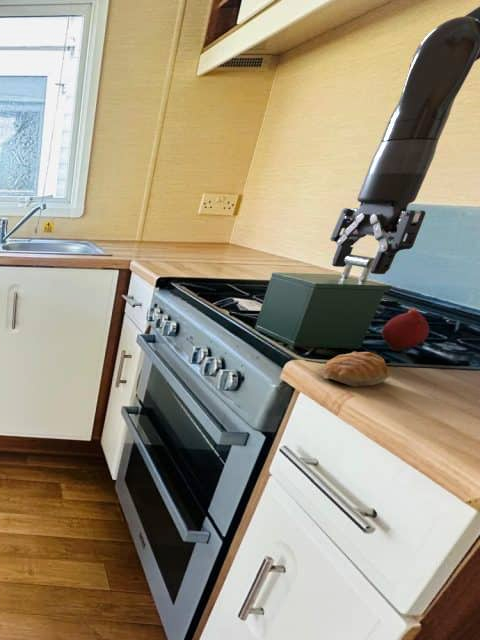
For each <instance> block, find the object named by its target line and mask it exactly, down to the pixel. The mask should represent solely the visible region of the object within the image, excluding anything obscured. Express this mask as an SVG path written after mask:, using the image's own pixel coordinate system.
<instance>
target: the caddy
mask: <svg viewBox="0 0 480 640" xmlns="http://www.w3.org/2000/svg"><path fill="white" fill-rule="evenodd" d="M385 292H386V290H365V289H332V288H313V287H309V286H305V285H301V284H298V283H294V282H290V281H286V280H283V279H279V278H275V277H272V276H270V279H269V282H268V285H267V289H266V291H265V295H264V298H263V301H262V305H261V308H260V310H259V313H258V317H257V320H256V323H255V326H254V330H257V331H258V332H261V333H263V334H265V335H267V336H269V337H271V338H274V339H276V340H278V341H280V342H282V343H284V344H286V345H288V346H291V347H294V348H295V347H296V348H327V349H329V348H331V349H360V350H361V347H362V345H363V343H364V340H365V339H366V337H367V334H368V331H369V329H370V327H371V325H372V323H373V320H374V317H375V315H376V313H377V310H378V308H379V306H380V303H381V301H382V299H383V297H384V295H385Z"/></svg>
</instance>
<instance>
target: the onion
mask: <svg viewBox="0 0 480 640" xmlns="http://www.w3.org/2000/svg"><path fill="white" fill-rule="evenodd" d="M429 333H430V326H429V323H428V321H427V320H426V318H425V317H424V316H423V315H422V314H421V313H420V312H419V311H418V309H417V308H415V307H410V308H409V309H408V311H407V312H404V313H401V314H398V315H396V316H394V317H393V318H391V319H390V320H388V321H387V322H386V323H385V324H384V326H383V327H382V330H381V337H382V338H383V340H384V341H385V343H386V345H388V346H389V347H390V349H391V350H392V351H394V352H400V351H404V350H408V349H412V348H414V347H417V346H419V345H420V344H422V343H423V342H425V340H426V339H427V338H428V336H429Z"/></svg>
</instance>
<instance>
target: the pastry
mask: <svg viewBox="0 0 480 640" xmlns="http://www.w3.org/2000/svg"><path fill="white" fill-rule="evenodd" d="M322 376H323V378H324V379H329V380H334V381H337V382H339V383H342V384H345V385H348V386H350V387H355V388H356V387H368V386H374V385H377V384H382V382H383V381H385V380H387V378H389V377H390V376H391V374H390V372H389V368H388V365H387V364H386V362H385V359H384V358H383V357H382V356H380V355H378V354H377V353H374V352H370V351H360V352H359V351H357V350H356V351H355V350H354V351H352V352H350V353H349V352H348V353H345V354H344V353H343V354H338V355H336V356H334V357H333V358H331V359H329V360H328V361H327V362H326V363H325V366H324V369H323V372H322Z"/></svg>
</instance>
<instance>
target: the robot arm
mask: <svg viewBox="0 0 480 640" xmlns="http://www.w3.org/2000/svg"><path fill="white" fill-rule="evenodd" d="M479 59H480V5H478V6H477V7H475V8H474V9H473V10H471V11H469V12H468V13H467V14H465V15H463V16H458V17H454V18H451V19H449V20H446V21H444V22H443V23H440V24H439V25H437V26H436V27H435V28H433V29H432V30H431V31H430V32H429V33H428V34H426V36H425V37H424V38H423V39H422V40H421V42H420V43H419V45H417V48H416V49H415V51H414V53H413V55H412V57H411V60H410V63H409V66H408V70H409V71H408V74H407V77H406V79H405V82H404V86H403V89H402V92H401V95H400V97H399V101H398V102H397V104H396V106H395V108H394V109H393V111H392V113H391V115H390V117H389V120H388V122H387V124H386V127H385V129H384V132H383V135H382V137H381V139H380V143H379V145H378V147H377V149H376V151H375V152H374V154H373V157H372V159H371V161H370V164H369V167H368V169H367V172H366V175H365V178H364V180H363V183H362V185H361V188H360V190H359V194H358V196H357V199H356V200H357V202H359V203H360V205H359V207H358V208H355V207H345V208H343V209H342V210H341V212H340V214H339V217H338V219H337V222H336V224H335V226H334V228H333V231H332V234H331V236H330V241H331V242H335V243H336V245H337V248H336V250H335V253H334V256H333V259H332V267H336V268H345V267H346V263H345V262H344V260H345V258H346V257H347V256H348V255H351V254H352V252H353V249H354V247H353V246H354V245H355V244H356V243H357V242H358V241H359V240H361V239H362V238H365V237H366V236H372V237H374V239H375V240H376V241H377V242H378V245H379V249H380V251H378V252H377V255H376V256H375V258H376V259H375V261H374V264H373V266H372V268H371V270H370V274H374V275H385V274H386V273H387V272H388V271H389V270H390V269H391V266H392V263H393V262H394V259H395V257H396V254H397V253H398V252H400V251H404V250H410V249H412V248H413V247H414V245H415V242H416V239H417V237H418V235H419V231H420V229H421V226H422V224H423V222H424V218H425V216H426V211H425V210H417V209H416V210H415V209H408V207H409V204H412V203H414V202H416V199H417V197H418V195H419V193H420V190H421V188H422V185H423V183H424V181H425V178H426V176H427V174H428V172H429V169H430V167H431V164H432V163H433V160H434V157H435V155H436V152H437V151H436V150H437V146H438V144H439V140H440V139H441V136H442V133H443V132H444V129H445V127H446V124H447V122H448V121H449V118H450V114H451V111H452V108H453V105H454V103H455V100H456V98H457V96H458V94H459V92H460V91H461V89H462V87H463V85H464V83H465V82H466V79H467V77H468V75H469V74H470V72H471V69H472V68H473V65H474V64H475V62H477V61H478V60H479ZM341 232H342V233H341Z"/></svg>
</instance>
